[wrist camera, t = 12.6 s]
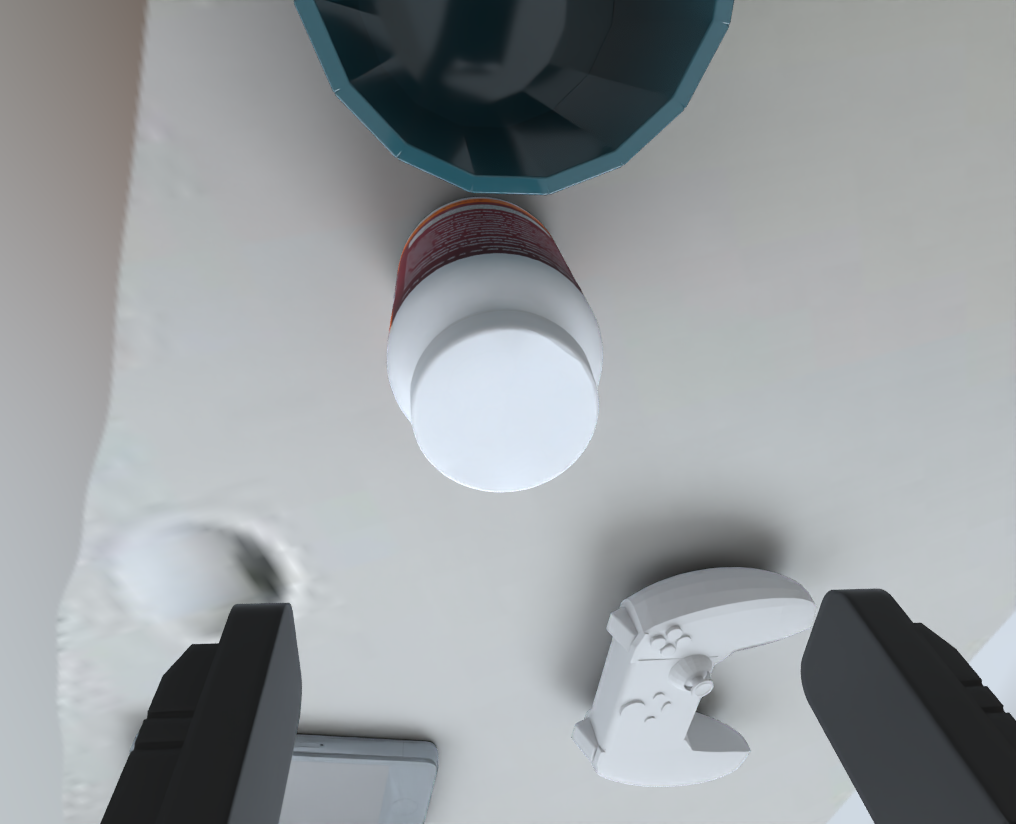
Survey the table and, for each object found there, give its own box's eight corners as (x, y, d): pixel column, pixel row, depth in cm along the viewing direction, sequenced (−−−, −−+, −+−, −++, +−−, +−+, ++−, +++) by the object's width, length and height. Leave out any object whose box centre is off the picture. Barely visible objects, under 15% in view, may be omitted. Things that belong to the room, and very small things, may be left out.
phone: (418, 828, 43) (418, 850, 42) (140, 819, 40) (131, 842, 39) (440, 741, 39) (440, 762, 38) (135, 724, 36) (125, 746, 35)
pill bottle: (364, 255, 26) (321, 386, 16) (503, 157, 25) (546, 237, 15) (459, 378, 29) (471, 553, 19) (589, 297, 28) (672, 439, 18)
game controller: (747, 794, 39) (584, 831, 36) (705, 726, 43) (554, 754, 39) (846, 599, 32) (657, 622, 29) (786, 538, 36) (612, 553, 33)
